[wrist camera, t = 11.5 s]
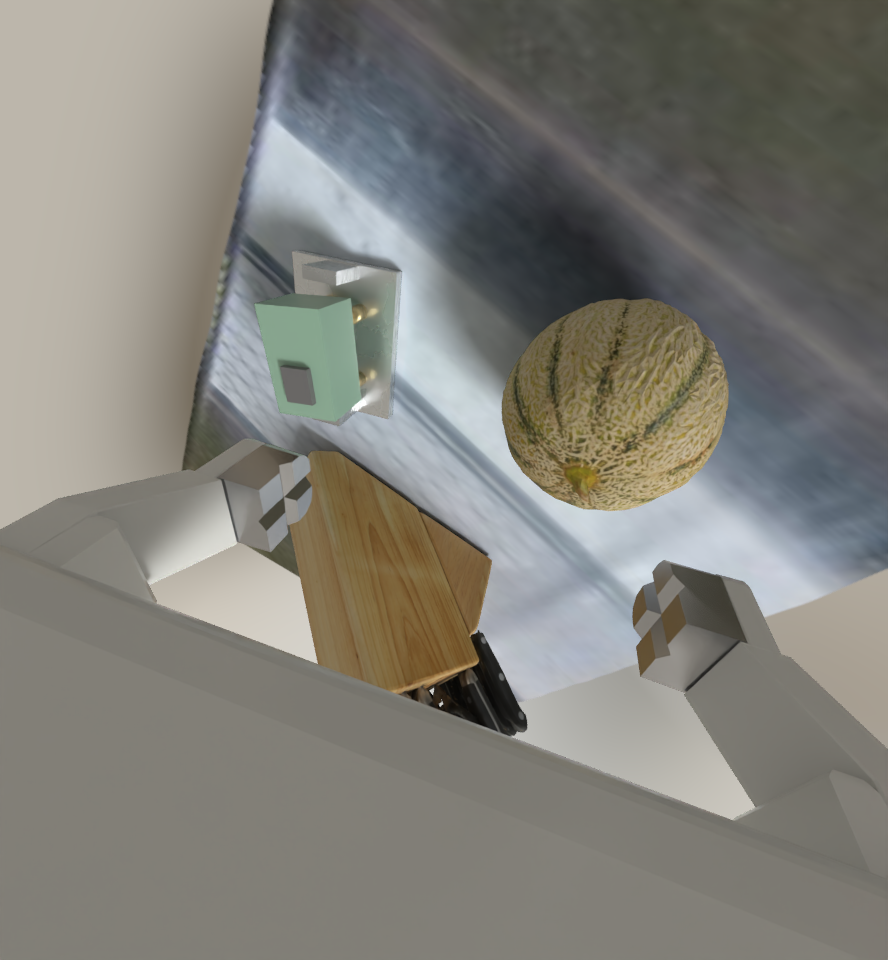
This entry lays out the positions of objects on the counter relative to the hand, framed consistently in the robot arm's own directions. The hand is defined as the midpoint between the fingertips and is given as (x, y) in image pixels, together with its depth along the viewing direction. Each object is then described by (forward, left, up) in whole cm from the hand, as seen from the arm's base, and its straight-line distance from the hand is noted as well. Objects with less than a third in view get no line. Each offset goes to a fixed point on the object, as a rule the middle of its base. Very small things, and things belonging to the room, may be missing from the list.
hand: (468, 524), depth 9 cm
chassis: (+7, -18, -29) cm, 35 cm away
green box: (+7, -18, -25) cm, 31 cm away
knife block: (+32, -8, -29) cm, 44 cm away
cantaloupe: (+5, +6, -29) cm, 30 cm away
